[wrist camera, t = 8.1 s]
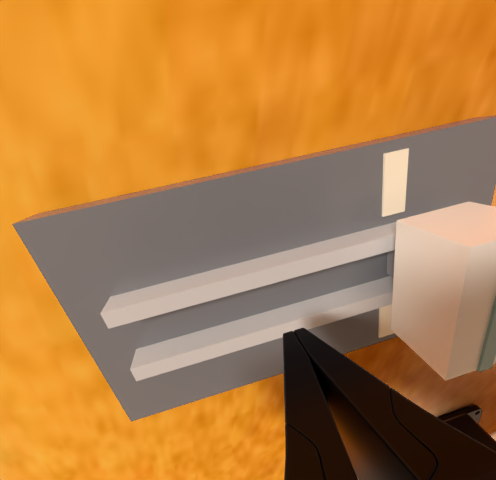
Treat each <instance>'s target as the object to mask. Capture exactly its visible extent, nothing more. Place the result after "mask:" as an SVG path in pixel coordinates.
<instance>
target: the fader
mask: <svg viewBox="0 0 496 480" xmlns="http://www.w3.org/2000/svg"><path fill="white" fill-rule="evenodd" d="M387 274H388V275H390V276H391V277H393V297H392V315H391V330H392V331H393V332H394V333H395V334H396V335H397V336H398V337H399V338H400V339H401V340H402V341H404V342H405V343H406V344H407V345H408V346H409V347H410V348H411V349H412V350H413V351H414V352H415V353H416V354H417V355H418V356H419V357H420V358H422V359H423V360H424V361H425V362H426V363H427V364H428V365H429V366H430V367H431V368H432V369H433V370H434V371H435V372H436V373H437V374H439V375H440V376H441V377H442V378H443V379H444V380H445V381H447V380H450V379H453V378H456V377H459V376H461V375H464V374H467V373H470V372H473V371H476V370H477V371H478V372H482V371H484V370H487V369H490V368H492V366H493V364H496V207H495V206H489V205H484V204H479V203H474V202H465V203H461V204H457V205H453V206H449V207H446V208H442V209H438V210H434V211H430V212H426V213H423V214H419V215H415V216H411V217H407V218H404V219H400V220H397V222H396V241H395V250H393V251H389V252H387Z"/></svg>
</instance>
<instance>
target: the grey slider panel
mask: <svg viewBox="0 0 496 480" xmlns="http://www.w3.org/2000/svg"><path fill="white" fill-rule="evenodd" d="M495 184H496V116H487V117H478V118H473V119H468V120H463V121H459V122H454V123H450V124H445V125H441V126H436V127H432V128H427V129H422V130H418V131H413V132H409V133H404V134H400V135H395V136H390V137H386V138H381V139H377V140H372V141H368V142H363V143H359V144H354V145H349V146H345V147H340V148H336V149H331V150H327V151H322V152H318V153H313V154H308V155H304V156H299V157H295V158H290V159H286V160H281V161H276V162H272V163H267V164H263V165H258V166H254V167H249V168H245V169H240V170H235V171H231V172H226V173H222V174H217V175H213V176H208V177H204V178H199V179H194V180H190V181H185V182H181V183H176V184H172V185H167V186H162V187H158V188H153V189H149V190H144V191H140V192H135V193H131V194H126V195H121V196H117V197H112V198H108V199H103V200H99V201H94V202H90V203H85V204H80V205H76V206H71V207H67V208H62V209H58V210H53V211H48V212H44V213H39V214H36V215H33V216H31V217H28V218H26V219H24V220H21V221H19V222H16V223H14V224H13V226H14V228H15V229H16V231H17V233H18V234H19V236H20V238H21V239H22V241H23V243H24V244H25V246H26V248H27V249H28V251H29V253H30V254H31V256H32V258H33V259H34V261H35V263H36V264H37V266H38V268H39V269H40V271H41V273H42V274H43V276H44V278H45V279H46V281H47V283H48V284H49V286H50V288H51V289H52V291H53V292H54V294H55V296H56V297H57V299H58V301H59V302H60V304H61V306H62V307H63V309H64V311H65V312H66V314H67V316H68V317H69V319H70V321H71V322H72V324H73V326H74V327H75V329H76V331H77V332H78V334H79V336H80V337H81V339H82V341H83V342H84V344H85V346H86V347H87V349H88V351H89V352H90V354H91V356H92V357H93V359H94V361H95V362H96V364H97V366H98V367H99V369H100V371H101V372H102V374H103V376H104V377H105V379H106V381H107V382H108V384H109V385H110V387H111V389H112V390H113V392H114V394H115V395H116V397H117V399H118V400H119V402H120V404H121V405H122V407H123V409H124V410H125V412H126V414H127V415H128V417H129V419H130V420H131V421H134V420H137V419H141V418H144V417H147V416H150V415H153V414H156V413H159V412H163V411H166V410H169V409H172V408H175V407H178V406H181V405H185V404H188V403H191V402H194V401H197V400H200V399H203V398H206V397H210V396H213V395H216V394H219V393H222V392H225V391H228V390H232V389H235V388H238V387H241V386H244V385H247V384H250V383H254V382H257V381H260V380H263V379H266V378H269V377H272V376H276V375H279V374H282V373H284V365H283V333H286V332H289V331H293V332H294V330H296V329H300V328H305V329H307V330H308V331H310V332H311V333H312V334H314V335H315V336H317V337H318V338H320V339H321V340H323V341H324V342H325V343H327V344H328V345H330V346H331V347H333V348H334V349H336V350H337V351H339V352H340V353H341V354H345V353H348V352H351V351H354V350H357V349H360V348H363V347H367V346H370V345H373V344H376V343H379V342H382V341H385V340H388V339H392V338H395V337H398V336H397V335H396V334H395V333H394V332H393V331H392V330H391V315H392V297H393V277H391V276H390V275H388V274H387V252H389V251H393V250H395V241H396V222H397V220H400V219H404V218H407V217H411V216H415V215H419V214H423V213H426V212H430V211H434V210H438V209H442V208H446V207H449V206H453V205H457V204H461V203H465V202H474V203H479V204H484V205H489V206H491V203H492V199H493V194H494V189H495Z"/></svg>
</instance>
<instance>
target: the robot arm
mask: <svg viewBox="0 0 496 480" xmlns="http://www.w3.org/2000/svg"><path fill="white" fill-rule="evenodd" d="M283 365H284V398H285V424H286V425H285V436H286V460H285V477H284V480H358V479H359V480H496V441H495V440H494V439H493V438H492V437H491V436H490V435H489V434H488V433H487V432H486V431H485V430H484V429H483V428H482V427H481V426H480V425H479V424H478V423H479V420H480V416H481V413H482V409H480V408H479V407H478V406H477V405H474V406H471V407H468V408H465V409H463V410H460V411H457V412H454V413H452V414H449V415H446V416H444V417H441V418H437V417H435V416H434V415H432V414H430V413H429V412H427V411H425V410H424V409H422V408H421V407H419V406H418V405H416V404H415V403H413V402H411V401H410V400H408V399H407V398H405V397H404V396H402V395H401V394H400V393H398V392H397V391H395V390H394V389H392V388H389V386H388V385H386V384H385V383H383V382H382V381H381V380H379V379H378V378H376V377H375V376H373V375H372V374H370V373H369V372H368V371H366V370H365V369H363V368H362V367H360V366H359V365H357V364H356V363H354V362H353V361H352V360H350V359H349V358H347V357H346V356H344V355H343V354H341V353H340V352H339V351H337V350H336V349H334V348H333V347H331V346H330V345H328V344H327V343H325V342H324V341H323V340H321V339H320V338H318V337H317V336H315V335H314V334H312V333H311V332H310V331H308V330H307V329H305V328H300V329H296V330H294V332H293V331H289V332H286V333H283ZM356 475H357V476H356ZM357 477H358V479H357Z"/></svg>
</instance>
